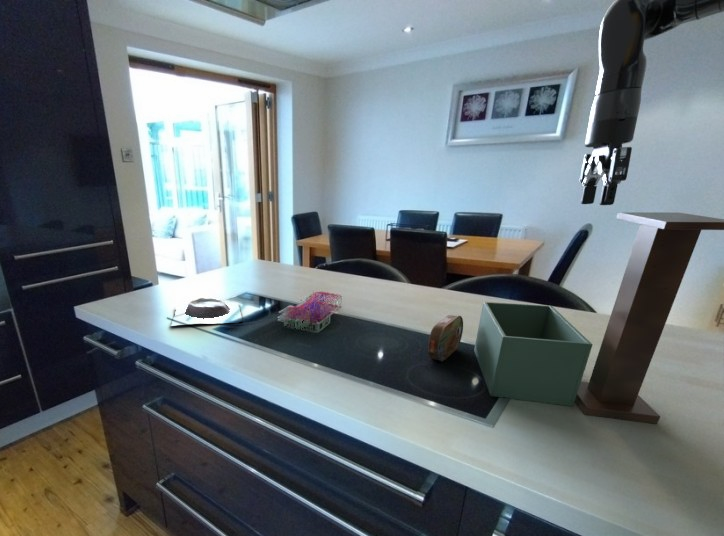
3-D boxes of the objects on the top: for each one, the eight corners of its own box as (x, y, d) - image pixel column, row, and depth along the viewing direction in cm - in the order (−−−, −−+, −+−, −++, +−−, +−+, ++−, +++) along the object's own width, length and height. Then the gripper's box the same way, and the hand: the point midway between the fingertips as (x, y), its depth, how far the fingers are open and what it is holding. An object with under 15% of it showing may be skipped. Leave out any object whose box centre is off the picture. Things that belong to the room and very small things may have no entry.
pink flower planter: (312, 298, 133) (312, 283, 131) (354, 303, 126) (355, 288, 124) (267, 326, 109) (266, 308, 107) (316, 335, 102) (316, 316, 100)
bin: (538, 356, 87) (552, 305, 83) (573, 406, 69) (592, 344, 64) (474, 350, 91) (483, 301, 86) (490, 396, 73) (502, 336, 68)
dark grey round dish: (169, 328, 110) (168, 315, 108) (176, 306, 128) (174, 295, 127) (243, 323, 112) (242, 310, 111) (239, 302, 131) (238, 291, 129)
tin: (437, 366, 84) (442, 330, 81) (423, 362, 86) (427, 327, 83) (461, 345, 94) (467, 312, 91) (448, 342, 96) (453, 309, 93)
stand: (622, 388, 74) (686, 212, 62) (664, 431, 62) (754, 222, 49) (560, 381, 77) (610, 212, 64) (589, 421, 64) (657, 221, 52)
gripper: (575, 126, 85) (562, 205, 90) (608, 114, 72) (590, 206, 77) (616, 122, 83) (600, 202, 88) (658, 109, 70) (636, 204, 75)
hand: (596, 204), depth 83 cm, fingers open, 8 cm apart
